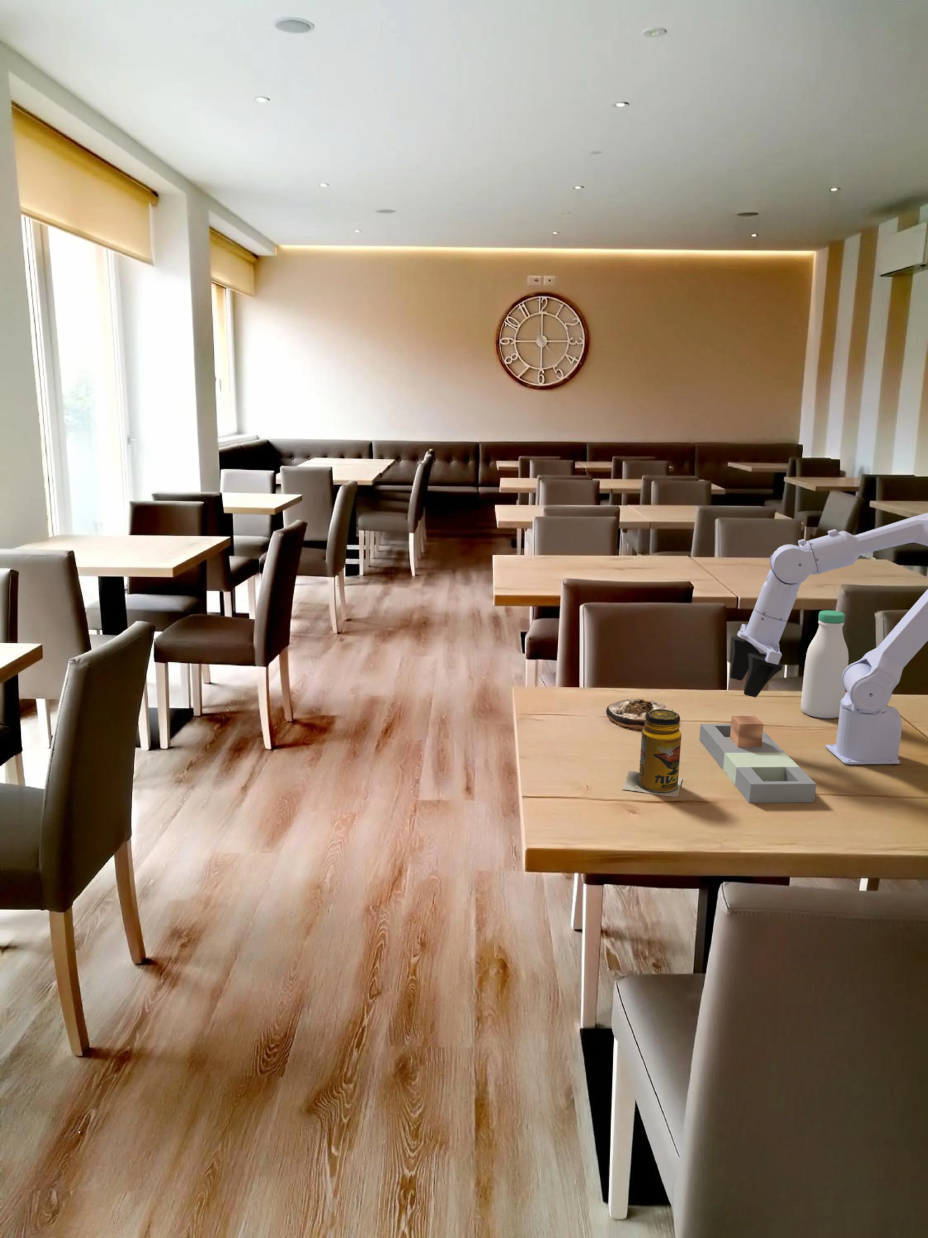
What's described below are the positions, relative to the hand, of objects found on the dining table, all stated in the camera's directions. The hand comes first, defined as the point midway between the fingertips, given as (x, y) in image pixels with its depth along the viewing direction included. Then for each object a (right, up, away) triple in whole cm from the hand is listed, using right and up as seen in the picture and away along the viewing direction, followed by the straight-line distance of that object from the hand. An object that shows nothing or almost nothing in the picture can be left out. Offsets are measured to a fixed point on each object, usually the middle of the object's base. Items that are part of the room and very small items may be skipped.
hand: (742, 687), depth 161 cm
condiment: (-18, -15, -14) cm, 27 cm away
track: (-1, -13, -7) cm, 15 cm away
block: (-1, -9, -4) cm, 10 cm away
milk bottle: (+21, -7, +20) cm, 30 cm away
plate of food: (-15, -8, +15) cm, 23 cm away
